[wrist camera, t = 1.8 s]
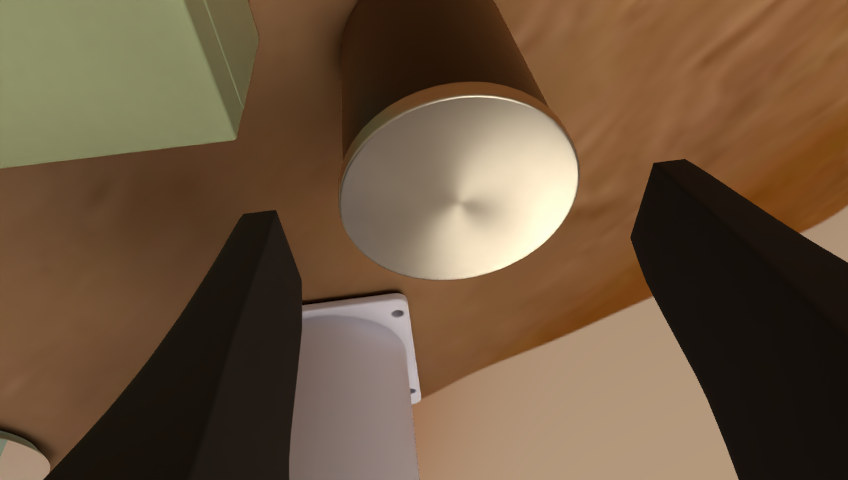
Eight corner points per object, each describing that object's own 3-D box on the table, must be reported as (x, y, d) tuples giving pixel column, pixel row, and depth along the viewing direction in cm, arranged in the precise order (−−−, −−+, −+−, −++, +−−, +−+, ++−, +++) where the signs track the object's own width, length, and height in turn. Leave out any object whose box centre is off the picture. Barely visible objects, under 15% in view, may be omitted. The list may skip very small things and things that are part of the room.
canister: (505, 117, 17) (564, 266, 13) (352, 136, 17) (358, 293, 13) (513, -47, 14) (600, 78, 9) (321, -26, 14) (314, 112, 9)
